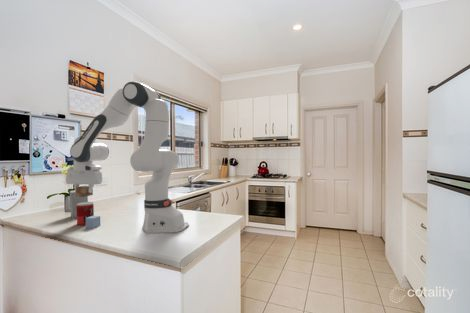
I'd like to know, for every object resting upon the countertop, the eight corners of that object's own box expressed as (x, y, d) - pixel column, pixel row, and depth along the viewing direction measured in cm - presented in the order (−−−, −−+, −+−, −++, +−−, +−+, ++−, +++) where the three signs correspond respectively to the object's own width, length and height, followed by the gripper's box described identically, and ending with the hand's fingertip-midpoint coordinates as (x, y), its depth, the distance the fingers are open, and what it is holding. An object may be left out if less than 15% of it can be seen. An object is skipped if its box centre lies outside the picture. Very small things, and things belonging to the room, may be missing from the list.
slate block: (100, 225, 120) (100, 216, 119) (93, 228, 115) (93, 218, 115) (93, 225, 120) (92, 215, 120) (85, 227, 116) (85, 218, 116)
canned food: (85, 226, 119) (85, 204, 119) (72, 225, 120) (72, 204, 120) (97, 221, 126) (96, 201, 126) (85, 221, 128) (84, 201, 128)
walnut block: (92, 194, 126) (92, 185, 126) (84, 196, 120) (84, 187, 120) (84, 194, 127) (84, 185, 127) (75, 196, 121) (75, 187, 121)
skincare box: (85, 213, 145) (85, 188, 145) (88, 215, 140) (88, 189, 140) (69, 216, 139) (69, 190, 139) (72, 218, 134) (71, 191, 134)
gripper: (62, 167, 122) (62, 193, 122) (94, 167, 118) (95, 194, 118) (72, 166, 128) (73, 191, 129) (104, 166, 124) (104, 192, 124)
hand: (84, 192), depth 123 cm, fingers closed on walnut block, 5 cm apart
